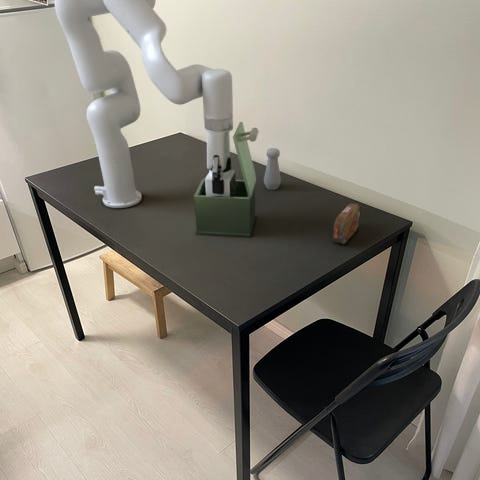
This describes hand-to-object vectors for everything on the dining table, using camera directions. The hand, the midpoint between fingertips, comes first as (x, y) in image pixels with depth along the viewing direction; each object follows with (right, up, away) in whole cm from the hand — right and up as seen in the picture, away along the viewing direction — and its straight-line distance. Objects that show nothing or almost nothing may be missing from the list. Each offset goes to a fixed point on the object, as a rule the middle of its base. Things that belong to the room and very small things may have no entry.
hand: (220, 186), depth 137 cm
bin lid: (+7, +6, -6) cm, 10 cm away
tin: (+36, -14, +1) cm, 38 cm away
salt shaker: (+16, +7, +28) cm, 33 cm away
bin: (+1, -10, +7) cm, 12 cm away
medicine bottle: (0, -3, +2) cm, 4 cm away
